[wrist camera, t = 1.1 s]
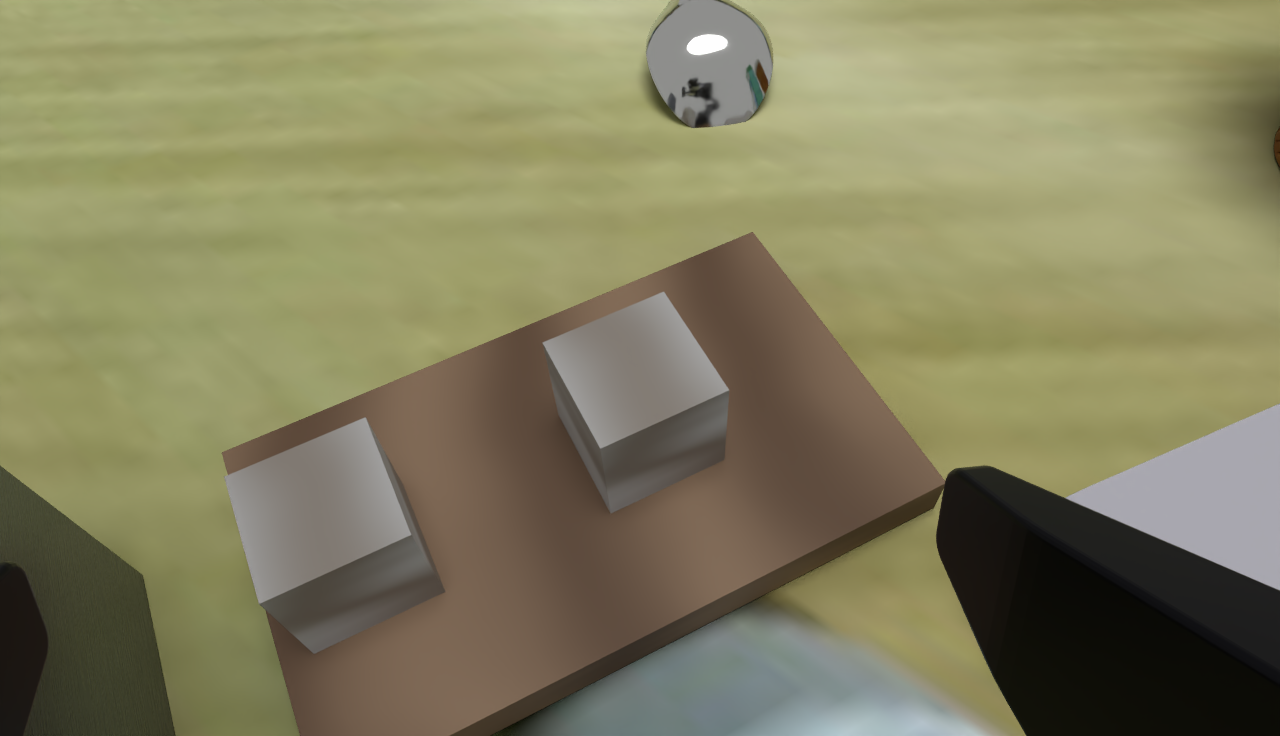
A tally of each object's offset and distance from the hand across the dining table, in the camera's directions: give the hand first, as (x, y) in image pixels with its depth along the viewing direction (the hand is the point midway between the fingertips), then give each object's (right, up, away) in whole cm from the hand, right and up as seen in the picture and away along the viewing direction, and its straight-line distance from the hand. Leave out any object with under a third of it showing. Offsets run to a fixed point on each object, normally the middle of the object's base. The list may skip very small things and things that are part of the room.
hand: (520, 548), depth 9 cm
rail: (-1, -2, +17) cm, 17 cm away
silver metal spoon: (+3, +19, +31) cm, 37 cm away
